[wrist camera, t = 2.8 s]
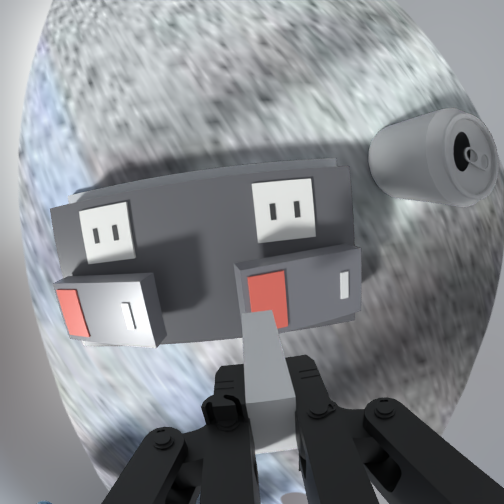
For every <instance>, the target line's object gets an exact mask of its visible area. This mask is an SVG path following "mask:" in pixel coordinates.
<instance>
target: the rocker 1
mask: <svg viewBox="0 0 504 504" xmlns="http://www.w3.org/2000/svg"><path fill="white" fill-rule="evenodd" d="M53 286H54V290H55V293H56V297H57V300H58V304H59V307H60V310H61V314H62V317H63V320H64V323H65V326H66V329H67V332H68V335H69V338H70V339H75V340H82V341H90V342H97V343H105V344H114V345H124V346H134V347H146V348H157V347H158V346H159V345H160V343H161V342H162V341H163V340H164V339H165V337H166V336H167V332H166V328H165V324H164V320H163V315H162V311H161V307H160V302H159V298H158V293H157V288H156V283H155V278H154V273H134V274H112V275H88V276H67V277H65V278H63V279H61V280H59V281H57V282H55V283H53Z"/></svg>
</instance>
